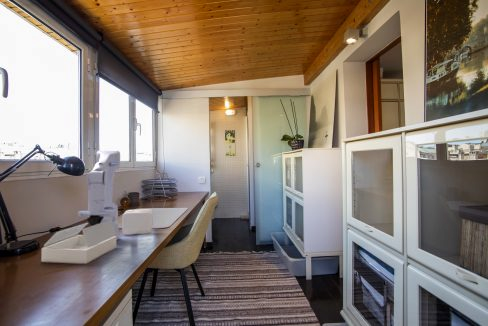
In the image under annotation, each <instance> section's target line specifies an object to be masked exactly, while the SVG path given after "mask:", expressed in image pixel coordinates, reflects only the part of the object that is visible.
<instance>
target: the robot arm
mask: <svg viewBox="0 0 488 326" xmlns="http://www.w3.org/2000/svg"><path fill="white" fill-rule="evenodd" d="M95 156H96V158H95V159H96V163H95V165H94V166H93V168H92V170H90V172H87V174H86V182H87V190H88V194H87V195H88V200H87V201H88V202H87V210H79V211H77V217H87V222H88V224H89V225H90V226H93V225H96V224H100V223H102V222H105V221H108V220H111V221H112V224H113V227H114V231H115V234H116V235H115V236H116V241H118V240H120V239H121V237H119V223H118V222H117V221H118V218H119V210H118V209H119V207H118V205H117V204H116V203H114V202H113V192H114V180H115V174H116V171H117V170H118V169H120V166H121V153H120V151H119V150H100V149H99V150H97V151H96V155H95Z"/></svg>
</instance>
